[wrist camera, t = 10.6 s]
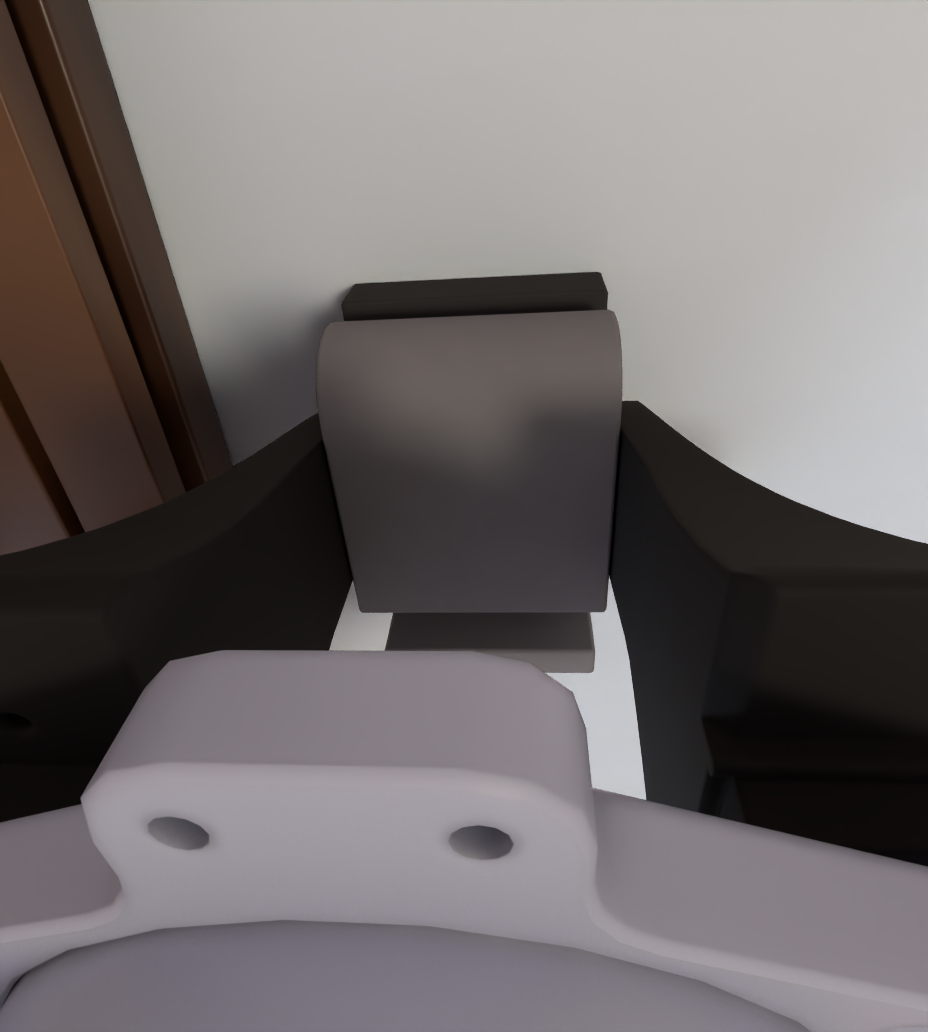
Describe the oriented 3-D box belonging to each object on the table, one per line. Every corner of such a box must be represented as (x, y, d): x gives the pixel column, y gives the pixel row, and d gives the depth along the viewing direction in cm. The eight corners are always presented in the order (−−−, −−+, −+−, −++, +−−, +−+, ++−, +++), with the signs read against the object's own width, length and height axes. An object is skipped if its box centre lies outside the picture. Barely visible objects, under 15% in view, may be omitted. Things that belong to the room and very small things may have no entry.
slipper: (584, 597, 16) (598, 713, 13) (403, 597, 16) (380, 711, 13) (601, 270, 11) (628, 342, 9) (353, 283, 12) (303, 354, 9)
